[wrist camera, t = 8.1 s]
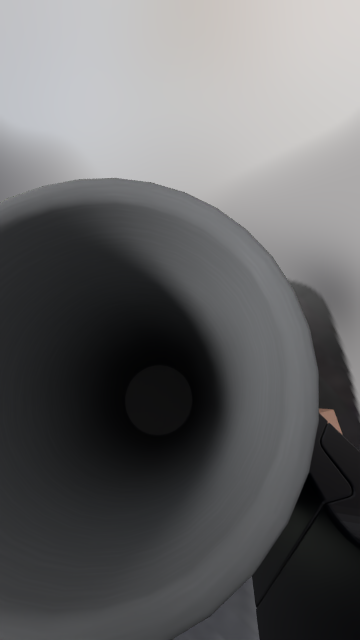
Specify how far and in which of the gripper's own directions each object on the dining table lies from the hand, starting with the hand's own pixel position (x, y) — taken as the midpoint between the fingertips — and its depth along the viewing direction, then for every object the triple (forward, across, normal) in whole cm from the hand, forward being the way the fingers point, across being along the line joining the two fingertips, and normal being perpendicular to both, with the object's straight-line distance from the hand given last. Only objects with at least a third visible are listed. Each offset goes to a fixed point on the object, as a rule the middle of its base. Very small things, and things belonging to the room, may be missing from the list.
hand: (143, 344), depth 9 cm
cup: (+6, 0, +9) cm, 11 cm away
